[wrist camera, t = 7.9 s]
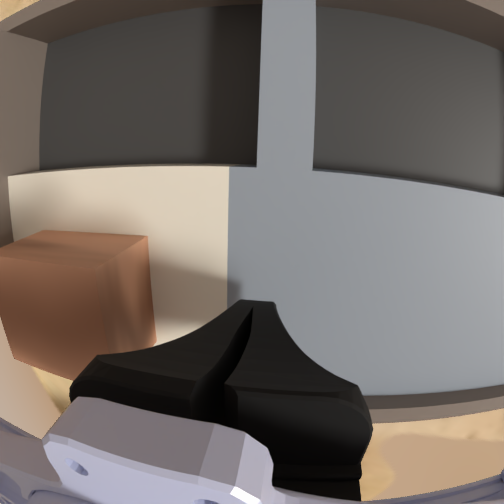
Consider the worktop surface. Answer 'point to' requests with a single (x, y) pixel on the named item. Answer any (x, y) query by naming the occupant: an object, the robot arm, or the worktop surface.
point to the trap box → (282, 172)
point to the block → (75, 298)
